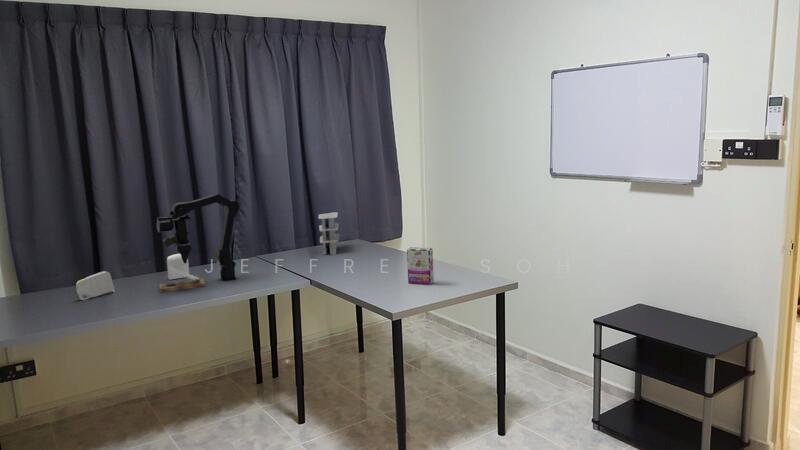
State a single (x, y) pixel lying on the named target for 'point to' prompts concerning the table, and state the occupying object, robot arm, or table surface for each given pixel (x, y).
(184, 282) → the walnut board
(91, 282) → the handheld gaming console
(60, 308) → the table surface
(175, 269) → the bar
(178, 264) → the photo printer
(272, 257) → the table surface
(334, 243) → the file organizer
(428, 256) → the candy bar box
